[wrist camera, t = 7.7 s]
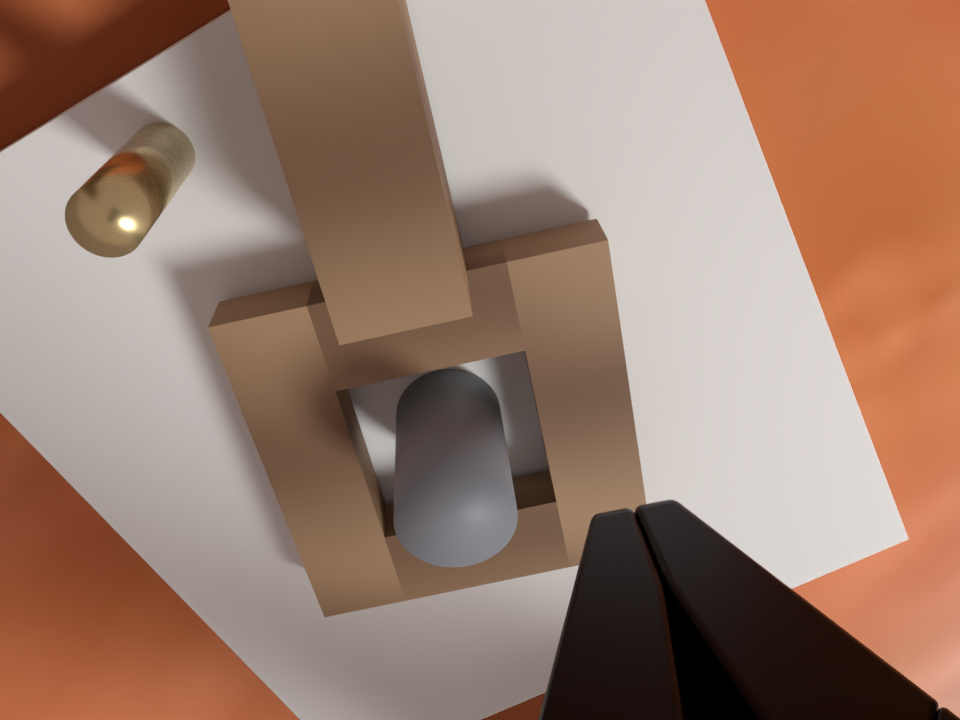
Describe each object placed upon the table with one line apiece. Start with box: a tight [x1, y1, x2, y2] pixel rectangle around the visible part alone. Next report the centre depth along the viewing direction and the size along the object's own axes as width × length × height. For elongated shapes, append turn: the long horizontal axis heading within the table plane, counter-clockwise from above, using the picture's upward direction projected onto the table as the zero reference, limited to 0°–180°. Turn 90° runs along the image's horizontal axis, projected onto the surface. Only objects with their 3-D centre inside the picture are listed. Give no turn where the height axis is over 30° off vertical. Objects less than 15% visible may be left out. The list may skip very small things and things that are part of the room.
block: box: [208, 0, 646, 617], centre depth 18 cm, size 14×8×3 cm, turn 12°
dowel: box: [65, 122, 195, 258], centre depth 16 cm, size 1×1×4 cm
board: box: [0, 0, 909, 720], centre depth 19 cm, size 19×17×5 cm
